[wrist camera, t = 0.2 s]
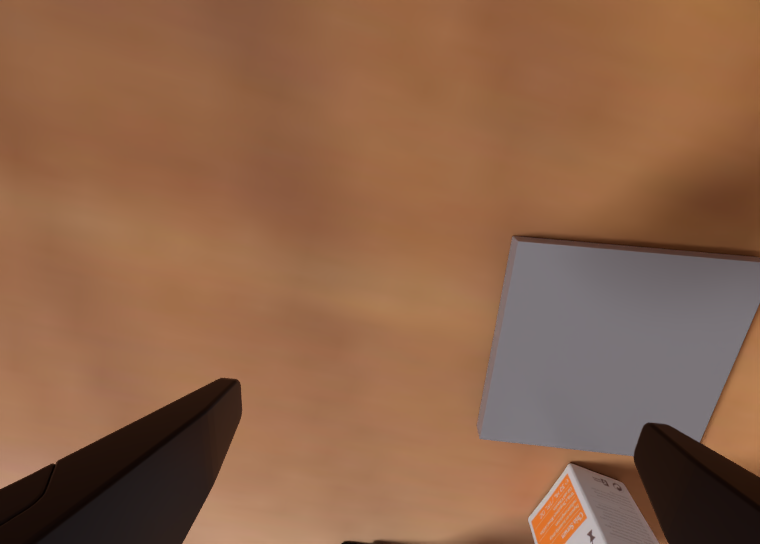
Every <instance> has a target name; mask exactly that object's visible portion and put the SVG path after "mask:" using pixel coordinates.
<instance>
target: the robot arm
mask: <svg viewBox="0 0 760 544" xmlns="http://www.w3.org/2000/svg"><path fill="white" fill-rule="evenodd" d="M241 415H242V400H241V385H240V382H239V381H238V380H237V379H230V378H220V379H218V380H216V381H214V382H212V383H210V384H208V385H206V386H204V387H202V388H200V389H198V390H196V391H194V392H192V393H190V394H188V395H186V396H184V397H182V398H180V399H178V400H176V401H174V402H172V403H170V404H168V405H166V406H164V407H163V408H161V409H159V410H157V411H155V412H153V413H151V414H149V415H147V416H145V417H143V418H141V419H139V420H137V421H135V422H133V423H131V424H129V425H127V426H125V427H123V428H121V429H119V430H117V431H115V432H113V433H111V434H109V435H107V436H105V437H103V438H101V439H100V440H98V441H96V442H94V443H92V444H90V445H88V446H86V447H84V448H82V449H80V450H78V451H76V452H74V453H72V454H70V455H68V456H66V457H64V458H62V459H60V460H58V461H57V462H56V464H50V465H48V466H46V467H44V468H42V469H40V470H38V471H36V472H34V473H33V474H31V475H29V476H27V477H25V478H22V479H20V480H18V481H16V482H14V483H12V484H10V485H8V486H6V487H4V488H2V489H0V544H182V543H183V541H184V539H185V538H186V536H187V534H188V532H189V530H190V528H191V526H192V524H193V523H194V521H195V519H196V517H197V515H198V513H199V511H200V509H201V508H202V506H203V504H204V502H205V500H206V498H207V496H208V494H209V492H210V490H211V489H212V487H213V485H214V482H215V480H216V478H217V476H218V473H219V471H220V468H221V466H222V463H223V461H224V459H225V456H226V454H227V451H228V449H229V446H230V444H231V441H232V439H233V436H234V434H235V431H236V429H237V427H238V424H239V422H240V419H241ZM634 462H635V465H636V468H637V470H638V472H639V475H640V477H641V480H642V482H643V485H644V487H645V489H646V492H647V494H648V497H649V499H650V502H651V504H652V507H653V509H654V511H655V514H656V516H657V519H658V521H659V524H660V526H661V528H662V530H663V533H664V535H665V537H666V539H667V541H668V543H669V544H760V477H758V476H756V475H755V474H753V473H751V472H749V471H748V470H746V469H744V468H743V467H741V466H739V465H737V464H736V463H734V462H732V461H730V460H729V459H727V458H725V457H724V456H722V455H720V454H718V453H717V452H715V451H713V450H711V449H710V448H708V447H706V446H705V445H703V444H701V443H699V442H698V441H696V440H694V439H692V438H691V437H689V436H687V435H686V434H684V433H682V432H680V431H679V430H677V429H675V428H673V427H672V426H670V425H667V424H662V423H652V422H648V423H646V424H645V425H644V426H643V428H642V430H641V433H640V436H639V439H638V442H637V444H636V447H635V450H634ZM342 544H351V543H342Z"/></svg>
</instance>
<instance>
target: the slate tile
mask: <svg viewBox="0 0 760 544" xmlns="http://www.w3.org/2000/svg"><path fill="white" fill-rule="evenodd" d="M759 304H760V258H759V257H752V256H741V255H729V254H718V253H706V252H694V251H683V250H671V249H660V248H648V247H636V246H625V245H613V244H601V243H590V242H578V241H567V240H555V239H543V238H532V237H520V236H512V242H511V247H510V252H509V257H508V263H507V268H506V273H505V279H504V284H503V289H502V295H501V300H500V305H499V310H498V316H497V321H496V326H495V332H494V337H493V342H492V348H491V353H490V358H489V364H488V369H487V374H486V379H485V385H484V390H483V395H482V401H481V406H480V411H479V417H478V422H477V429H478V433H479V438H480V439H485V440H494V441H503V442H512V443H521V444H530V445H539V446H548V447H557V448H565V449H574V450H583V451H592V452H601V453H610V454H619V455H628V456H634V450H635V447H636V444H637V442H638V439H639V436H640V433H641V430H642V428H643V426H644V425H645V424H646V423H648V422H652V423H662V424H667V425H670V426H672V427H673V428H675V429H677V430H679V431H680V432H682V433H684V434H686V435H687V436H689V437H691V438H692V439H694V440H696V441H698V442H699V443H700V441H701V438H702V436H703V434H704V431H705V429H706V427H707V424H708V422H709V420H710V417H711V415H712V413H713V410H714V408H715V406H716V403H717V401H718V399H719V397H720V394H721V392H722V390H723V387H724V385H725V383H726V380H727V378H728V376H729V373H730V371H731V369H732V366H733V364H734V362H735V359H736V357H737V355H738V352H739V350H740V348H741V345H742V343H743V341H744V338H745V336H746V334H747V331H748V329H749V327H750V325H751V322H752V320H753V318H754V315H755V313H756V311H757V308H758V306H759Z"/></svg>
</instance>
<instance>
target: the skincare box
mask: <svg viewBox="0 0 760 544" xmlns="http://www.w3.org/2000/svg"><path fill="white" fill-rule="evenodd" d="M528 521H529V524H530V528H531V531H532V535H533V538H534V542H535V544H659V542H658V540H657V539H656V537H655V535H654V533H653V532H652V530H651V528H650V527H649V525H648V523H647V522H646V520H645V518H644V517H643V515H642V513H641V512H640V510H639V508H638V506H637V505H636V503H635V501H634V500H633V498H632V496H631V495H630V493H629V491H628V490H627V488H626V486H625V485H624V484H623V483H622V482H620V481H617V480H615V479H612V478H609V477H607V476H604V475H601V474H599V473H596V472H593V471H590V470H588V469H585V468H583V467H580V466H577V465H575V464H572V463H569V464H568V465H567V467H566V469H565V470H564V472H563V473H562V475H561V476H560V477H559V478H558V480H557V481H556V483H555V484H554V485H553V487H552V488H551V489H550V491H549V492H548V494H547V495H546V496H545V497H544V499H543V500H542V501H541V502H540V504H539V505H538V506H537V508H536V509H535V510H534V511H533V513H532V514H531V515H530V516H529V518H528Z"/></svg>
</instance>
